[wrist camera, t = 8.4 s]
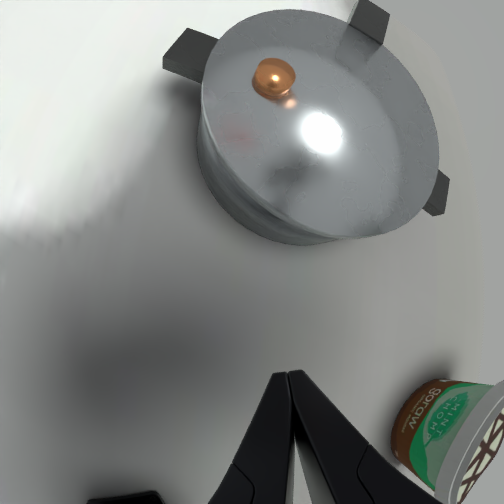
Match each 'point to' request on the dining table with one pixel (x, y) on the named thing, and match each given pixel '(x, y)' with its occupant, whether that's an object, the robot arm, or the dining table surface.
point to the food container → (450, 434)
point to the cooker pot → (221, 182)
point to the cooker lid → (321, 121)
